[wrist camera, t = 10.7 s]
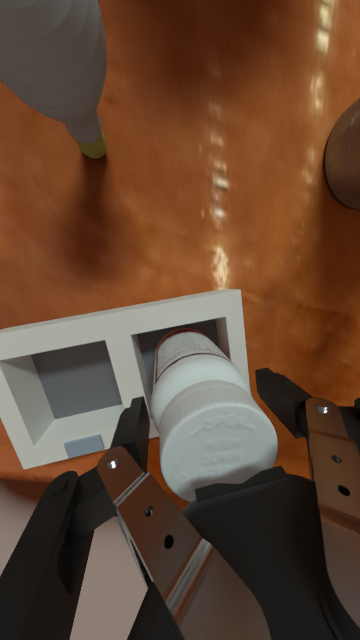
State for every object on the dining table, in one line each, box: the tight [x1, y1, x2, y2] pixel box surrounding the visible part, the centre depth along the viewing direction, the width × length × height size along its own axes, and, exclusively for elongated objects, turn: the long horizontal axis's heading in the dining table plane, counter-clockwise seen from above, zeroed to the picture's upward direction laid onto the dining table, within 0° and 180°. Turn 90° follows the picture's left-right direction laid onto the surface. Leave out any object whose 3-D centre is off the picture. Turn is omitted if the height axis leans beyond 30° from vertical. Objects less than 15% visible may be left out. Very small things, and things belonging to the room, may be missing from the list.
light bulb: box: [0, 0, 107, 159], centre depth 9 cm, size 5×6×10 cm
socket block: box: [0, 289, 250, 469], centre depth 16 cm, size 21×12×4 cm, turn 100°
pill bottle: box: [151, 328, 278, 502], centre depth 13 cm, size 6×6×11 cm
